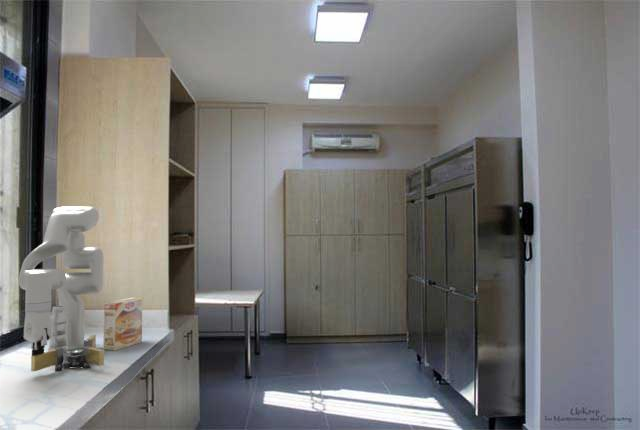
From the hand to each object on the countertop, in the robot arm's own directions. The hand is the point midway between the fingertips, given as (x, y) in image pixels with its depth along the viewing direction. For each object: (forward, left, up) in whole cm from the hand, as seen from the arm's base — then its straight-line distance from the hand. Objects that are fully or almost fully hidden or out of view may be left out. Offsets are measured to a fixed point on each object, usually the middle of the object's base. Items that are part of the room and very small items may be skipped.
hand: (37, 360), depth 148 cm
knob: (-1, +21, -5) cm, 22 cm away
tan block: (+14, +10, -5) cm, 18 cm away
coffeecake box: (-3, +39, -5) cm, 39 cm away
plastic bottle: (-11, +15, -5) cm, 19 cm away
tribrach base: (+4, +12, -5) cm, 13 cm away
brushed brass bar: (+3, +2, -5) cm, 6 cm away
